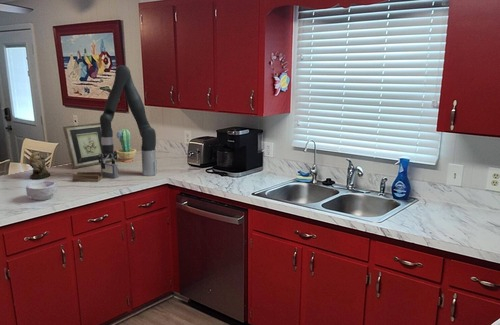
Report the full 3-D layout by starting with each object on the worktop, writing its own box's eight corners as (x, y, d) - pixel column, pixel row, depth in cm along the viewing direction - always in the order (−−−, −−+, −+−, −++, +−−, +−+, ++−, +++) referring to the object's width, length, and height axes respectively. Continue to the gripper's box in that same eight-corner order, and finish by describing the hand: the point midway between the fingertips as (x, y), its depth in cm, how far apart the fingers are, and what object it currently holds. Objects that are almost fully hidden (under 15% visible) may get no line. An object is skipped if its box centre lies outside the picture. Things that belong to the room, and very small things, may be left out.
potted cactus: (118, 158, 332) (117, 127, 327) (138, 158, 334) (136, 127, 328) (114, 162, 317) (112, 130, 312) (135, 162, 319) (133, 130, 313)
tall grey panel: (104, 175, 280) (104, 162, 278) (118, 177, 275) (117, 164, 273) (101, 176, 277) (100, 163, 275) (114, 178, 272) (113, 165, 270)
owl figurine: (47, 179, 268) (44, 154, 264) (27, 181, 265) (24, 155, 261) (52, 172, 285) (49, 148, 281) (33, 174, 282) (30, 149, 278)
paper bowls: (20, 200, 226) (19, 186, 224) (43, 192, 240) (42, 179, 238) (41, 203, 220) (40, 189, 219) (63, 195, 234) (62, 182, 233)
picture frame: (73, 169, 295) (69, 127, 289) (66, 167, 301) (62, 126, 294) (112, 161, 321) (110, 123, 314) (105, 160, 326) (102, 122, 320)
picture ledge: (78, 177, 273) (77, 171, 272) (102, 177, 274) (102, 171, 273) (72, 181, 263) (72, 175, 262) (98, 181, 264) (97, 175, 263)
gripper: (111, 141, 278) (112, 164, 282) (94, 144, 266) (96, 168, 269) (119, 142, 275) (120, 166, 279) (103, 145, 263) (104, 170, 266)
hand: (108, 167), depth 274 cm, fingers open, 8 cm apart
